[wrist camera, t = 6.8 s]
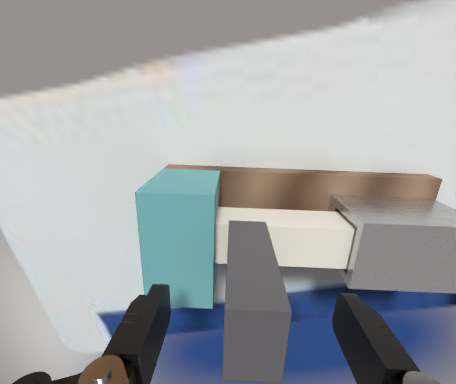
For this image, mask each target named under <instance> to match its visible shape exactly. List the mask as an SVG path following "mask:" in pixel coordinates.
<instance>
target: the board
mask: <svg viewBox="0 0 456 384" xmlns="http://www.w3.org/2000/svg"><path fill="white" fill-rule="evenodd" d="M164 169H190V170H216V171H220V201H219V207H233V208H258V209H283V210H308V211H328V205H329V200H330V194H338V195H364V196H389V197H414V198H431V199H433V200H436V197H437V194H438V191H439V188H440V184H441V181H442V179H440V178H437V177H434V176H431V175H426V174H400V173H374V172H348V171H322V170H296V169H270V168H245V167H219V166H193V165H168V166H166V167H165V168H164Z"/></svg>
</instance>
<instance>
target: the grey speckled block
mask: <svg viewBox="0 0 456 384" xmlns="http://www.w3.org/2000/svg"><path fill="white" fill-rule="evenodd" d="M328 211H332V212H341V213H342V214H343V215H344V216H346V217H347V218H348V219H349V220H350V221H351V222H352V223H353V224H354V225H355V226H356V227H357V231H356V236H355V240H354V245H353V249H352V254H351V258H350V263H349V267H348V269H336V270H337V271H338V273H339V274H340V276H341V277H342V279H343V280H344V282H345V283H346V285H347V287H348V288H349V289H366V290H389V291H412V292H435V293H456V210H455V209H453V208H451V207H449V206H446V205H444V204H442V203H440V202H437V201H435V200H433V199H431V198H414V197H389V196H364V195H338V194H330V200H329V205H328Z"/></svg>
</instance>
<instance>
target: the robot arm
mask: <svg viewBox="0 0 456 384" xmlns="http://www.w3.org/2000/svg"><path fill="white" fill-rule="evenodd" d="M170 314H171V306H170V288H169V285H168V284H152V286H151V288H150V290H149V292H148V294H147V295H139V296H138V297H137V298H136V299H135V300H134V301H132V302H131V304H130V306H129V307H128V309H127V311H126V314H125V315H124V316H123V318H122V320H121V323H120V324H119V326H118V327H117V329H116V331H115V333H114V335H113V337H112V338H111V340H110V342H109V344H108V346H107V347H106V349H105V351H104V353H103V355H102V356H101V357H100V358H98V359H96V360H94V361H93V362H91V363H90V364H89V365H88V366H87V367H86V368H85V369H84V370H83V372H82V373H79V374H77V375H73V376H69V377H66V378H62V379H58V380H54V381H52V380H51V377H50V376H49V374H47V373H45V372H34V373H30V374H28V375H25V376H23V377H22V378H20V379H18V380H17V381H15V382H14V383H12V384H150V382H151V379H152V376H153V373H154V370H155V366H156V363H157V360H158V357H159V354H160V351H161V347H162V344H163V341H164V338H165V335H166V332H167V328H168V325H169V321H170ZM333 330H334V333H335V335H336V337H337V340H338V342H339V344H340V346H341V349H342V351H343V353H344V356H345V358H346V360H347V362H348V364H349V367H350V369H351V371H352V373H353V376H354V378H355V380H356V383H357V384H440V383H439V382H438V381H436V380H435V379H433V378H432V377H430V376H428V375H426V374H424V373H421V372H420V370H419V369H418V367H417V366H416V364H415V363H414V362H413V360H412V359H411V357H410V356H409V355H408V353H407V352H406V350H405V349H404V348H403V346H402V345H401V343H400V342H399V340H398V339H397V338H396V337H395V335H394V333H393V332H392V331H391V329H390V328H388V325H387V324H386V322H385V321H384V319H383V318H382V316H381V315H380V314H378V313H377V312H376V311H375V310H374V309H372V308H371V307H370V306H365V305H364V303H363V302H362V300H361V299H360V297H359V296H358V295H357V294H348V293H339V294H338V296H337V300H336V305H335V310H334V314H333Z"/></svg>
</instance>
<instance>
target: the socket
mask: <svg viewBox="0 0 456 384" xmlns="http://www.w3.org/2000/svg"><path fill="white" fill-rule="evenodd" d="M135 197H136V208H137V219H138V231H139V242H140V253H141V264H142V275H143V286H144V295H147V294H148V292H149V290H150V288H151V286H152V284H168V285H169V288H170V306H171V307H183V308H206V309H213V300H214V291H215V282H216V272H217V263H214V259H215V219H216V213H217V207H219V201H220V171H216V170H190V169H163V170H161V171H160V172H159V173H158V174H157V175H155V176H154V177H153V178H152V179H151V180H149V181H148V182H147V183H146V184H144V185H143V186H142V187H141V188H140V189H138V190H137V191H136V192H135Z"/></svg>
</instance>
